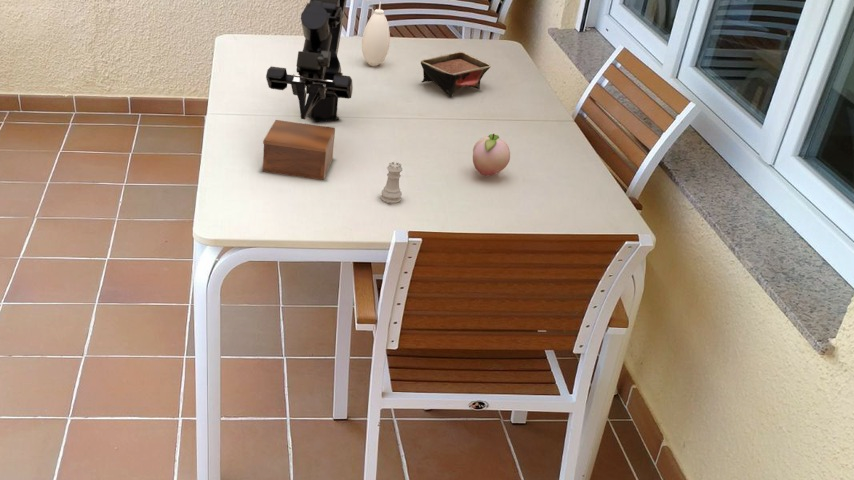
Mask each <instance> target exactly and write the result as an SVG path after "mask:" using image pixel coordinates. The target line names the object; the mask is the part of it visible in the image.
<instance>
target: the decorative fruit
mask: <svg viewBox="0 0 854 480" xmlns="http://www.w3.org/2000/svg"><path fill="white" fill-rule="evenodd" d="M510 160H511V149H510V147H509V145H508V143H507V142H506V141H505V140H503V139H502V138H500V136H499V135H498V134H495V133H491V134H488V135H486V136H483V137H481V138H479V139H478V140H477V141H476V142H475V143H474V145H473V148H472V163H473V166H474V168H475V169H476V171H477V172H478V173H479V174H481V175H482V176H483V177H490V176H493V175H497V174H498V173H500V172H502V171H503V170H504V169H506V168H507V167H508V164H509V163H510Z"/></svg>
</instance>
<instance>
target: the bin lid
mask: <svg viewBox="0 0 854 480" xmlns="http://www.w3.org/2000/svg"><path fill="white" fill-rule="evenodd" d="M334 132H335V133H336V127H334V126H333V127H332V126H326V125H325V126H324V125H318V124H311V123H303V122H295V121H287V120H282V119H281V120H280V119H275V120H274V122H273V123H272V126H271V127H270V129H269V130H268V132H267V134H266V135H265V137H264V138H263V139H262V141H263V142H262V144H263V145H264V144H270V145H277V146H285V147H292V148H299V149H307V150H314V151H321V152H326V149H327V147H328V145H329V143H330V141H331V139H332V136H333V134H334Z"/></svg>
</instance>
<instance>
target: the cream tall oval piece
mask: <svg viewBox="0 0 854 480" xmlns="http://www.w3.org/2000/svg"><path fill="white" fill-rule="evenodd" d="M381 6H382V1H381V0H379V3H378V8H376V9H375V10H374V13H373V14H372V15H371V16H370V17H369V19H368V21H367V23H366V25H365V28H364V30H363V34H362V38H361V52H362V56H363V59H364V61H365V62H367V64H368V65H370V66H371V67H377V66H379V65H380V64H381V63H383V62H384V61H385V59H386V58H387V55H388V54H389V53H388V52H389V51H390V50H389V49H390V43H391V33H390V26H389V22H388V20H387V17H386V15H385V11H384V10H383V9H382V8H381Z"/></svg>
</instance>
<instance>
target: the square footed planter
mask: <svg viewBox="0 0 854 480" xmlns="http://www.w3.org/2000/svg"><path fill="white" fill-rule="evenodd" d="M420 65H421V67H422V70H423V75H422V76H423V79H422V81H421V83H426V82H427V83H428V82H433V83H434V84H435V85H436V86H437V87H438V88H439V89H440V90H442V92H444V93H445V94H446V95H447V96H448V97H449V98H452V97H453V96H454V94H456V93H457V92H458V91H459V90H461V89H462V88H464V87H467V88H473V89H476V90H480V86H481V80H482V78H483V77H484V76H485V74H486V73H487V71H488V70H489V69H490V68H491V66H492V65H491V64H489V63H488V62H486V61H484V60H482V59H480V58H478V57H475V56H474V55H471V54H469V53H466V52H463V51H456V52H453V53H448V54H443V55H440V56H439V55H438V56H433V57H430V58H427V59H425V58H424V59H421V61H420Z"/></svg>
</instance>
